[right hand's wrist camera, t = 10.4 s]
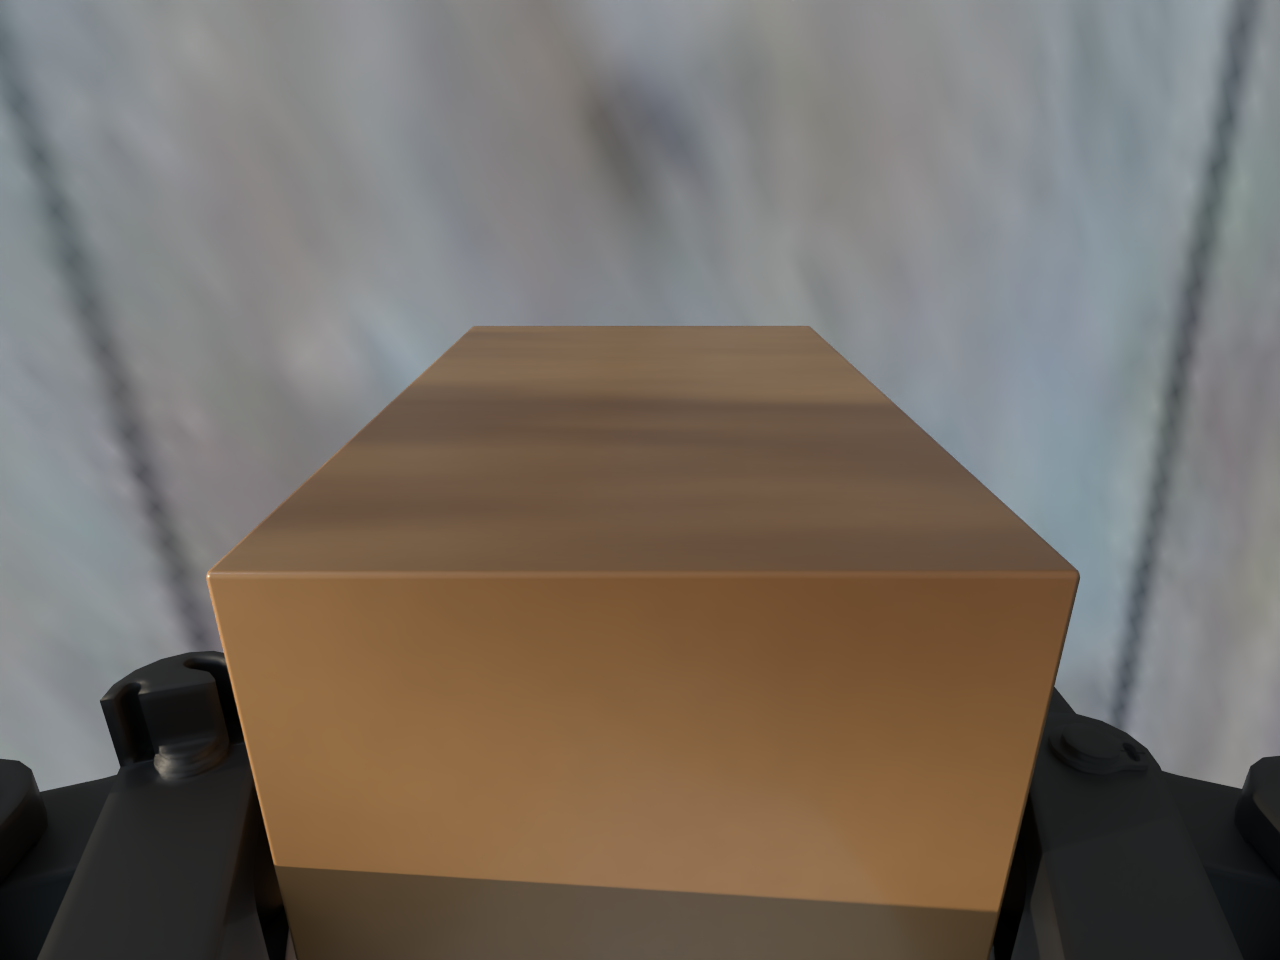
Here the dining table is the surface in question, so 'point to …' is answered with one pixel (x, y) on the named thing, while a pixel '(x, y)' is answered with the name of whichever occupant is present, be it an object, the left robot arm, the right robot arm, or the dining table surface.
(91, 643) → the dining table surface
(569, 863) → the box
